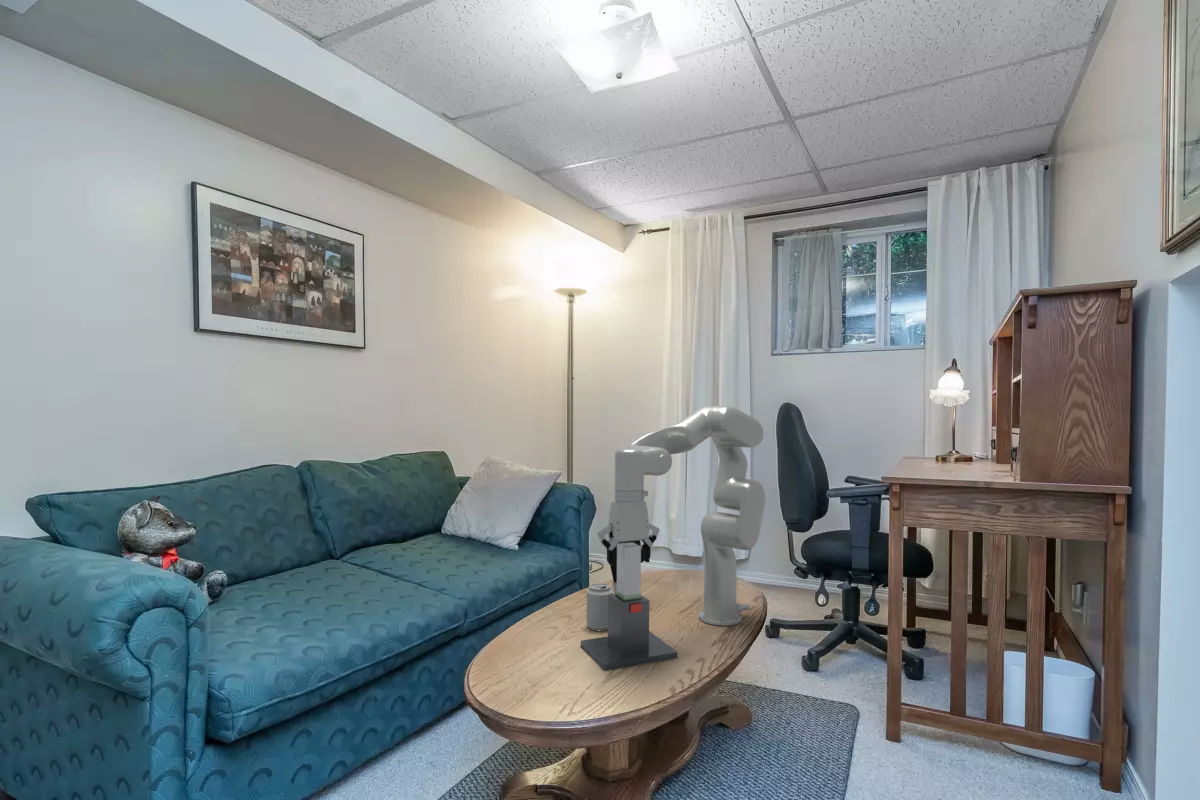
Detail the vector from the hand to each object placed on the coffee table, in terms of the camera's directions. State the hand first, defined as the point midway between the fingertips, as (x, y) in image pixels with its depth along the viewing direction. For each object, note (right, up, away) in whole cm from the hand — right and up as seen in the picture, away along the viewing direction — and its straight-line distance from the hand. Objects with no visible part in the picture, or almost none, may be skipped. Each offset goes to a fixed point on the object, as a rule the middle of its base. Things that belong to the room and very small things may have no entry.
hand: (628, 562), depth 157 cm
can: (-8, -23, +17) cm, 30 cm away
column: (0, -15, 0) cm, 15 cm away
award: (+1, -24, +39) cm, 46 cm away
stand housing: (0, -23, 0) cm, 23 cm away
